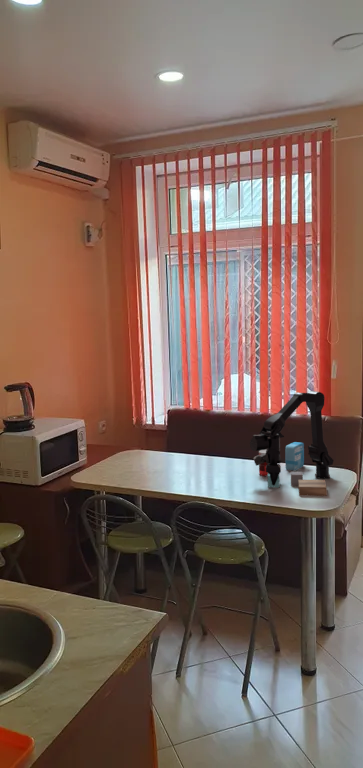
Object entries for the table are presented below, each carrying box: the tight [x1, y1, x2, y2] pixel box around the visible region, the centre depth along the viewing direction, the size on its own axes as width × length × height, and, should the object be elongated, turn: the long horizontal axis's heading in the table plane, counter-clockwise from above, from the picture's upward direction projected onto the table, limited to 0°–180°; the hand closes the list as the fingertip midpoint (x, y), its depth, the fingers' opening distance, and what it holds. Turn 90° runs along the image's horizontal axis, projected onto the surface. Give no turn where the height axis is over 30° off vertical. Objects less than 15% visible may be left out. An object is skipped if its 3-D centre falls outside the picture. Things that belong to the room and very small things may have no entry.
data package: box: [284, 441, 305, 472], centre depth 282 cm, size 12×4×12 cm, turn 145°
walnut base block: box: [297, 479, 328, 497], centre depth 244 cm, size 11×11×4 cm
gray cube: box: [290, 471, 304, 487], centre depth 255 cm, size 5×5×5 cm
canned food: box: [258, 449, 268, 477], centre depth 273 cm, size 8×8×11 cm
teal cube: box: [267, 473, 280, 488], centre depth 254 cm, size 5×5×5 cm
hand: (273, 483), depth 254 cm, fingers closed on teal cube, 5 cm apart
